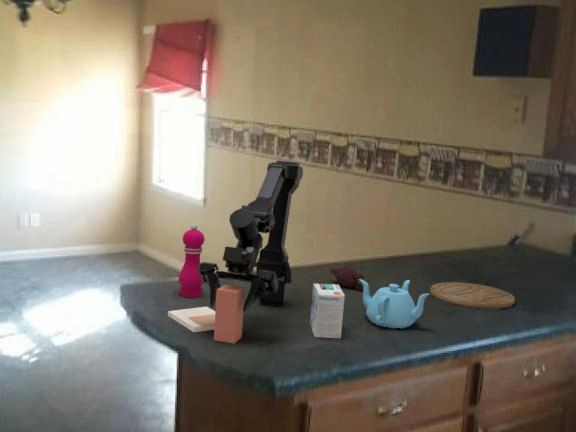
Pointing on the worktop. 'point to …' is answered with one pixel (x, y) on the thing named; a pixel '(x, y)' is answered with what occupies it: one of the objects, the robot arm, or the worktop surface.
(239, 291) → the block
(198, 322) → the board
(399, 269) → the worktop surface
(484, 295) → the trivet
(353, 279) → the maroon lumpy piece
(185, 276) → the pepper mill
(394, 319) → the teapot
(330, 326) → the light bulb box
